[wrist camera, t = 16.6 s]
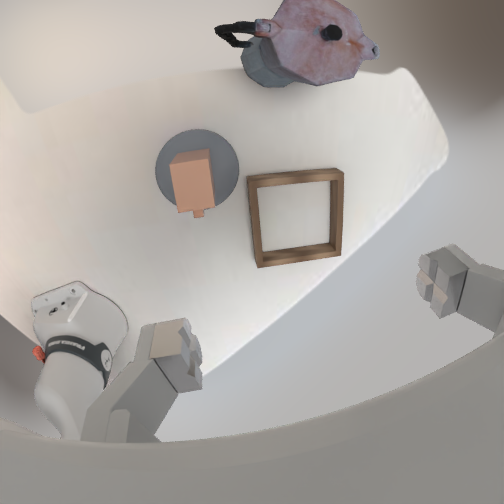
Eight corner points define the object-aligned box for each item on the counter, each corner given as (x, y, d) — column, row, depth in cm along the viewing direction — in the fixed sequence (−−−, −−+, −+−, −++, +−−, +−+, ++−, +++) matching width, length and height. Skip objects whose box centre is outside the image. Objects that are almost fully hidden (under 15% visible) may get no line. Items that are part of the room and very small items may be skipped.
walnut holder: (255, 258, 49) (257, 268, 47) (246, 176, 42) (248, 181, 40) (334, 247, 50) (340, 255, 47) (336, 168, 43) (343, 172, 41)
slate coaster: (164, 214, 43) (163, 216, 43) (150, 137, 38) (148, 138, 37) (242, 202, 44) (243, 204, 44) (233, 123, 38) (234, 124, 38)
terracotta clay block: (177, 153, 39) (169, 164, 32) (209, 148, 39) (208, 158, 32) (186, 202, 42) (180, 224, 35) (216, 198, 43) (216, 218, 36)
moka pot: (323, 93, 37) (401, 95, 20) (215, 93, 36) (215, 83, 18) (322, 35, 33) (397, 0, 15) (213, 31, 31) (213, -25, 14)
